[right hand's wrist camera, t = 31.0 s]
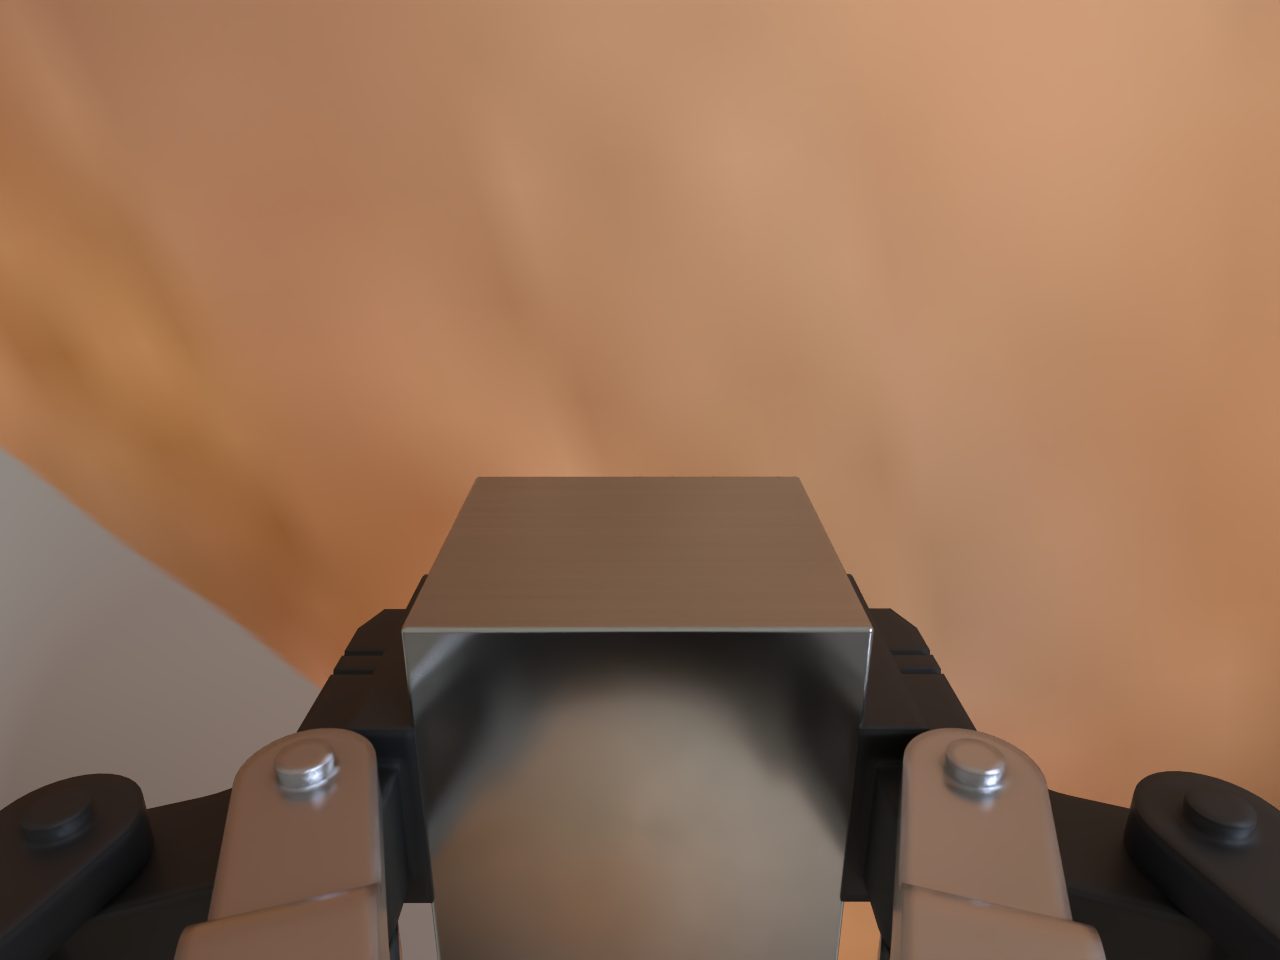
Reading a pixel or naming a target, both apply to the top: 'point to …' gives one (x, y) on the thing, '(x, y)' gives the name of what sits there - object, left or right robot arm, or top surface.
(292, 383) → the top surface
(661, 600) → the block
